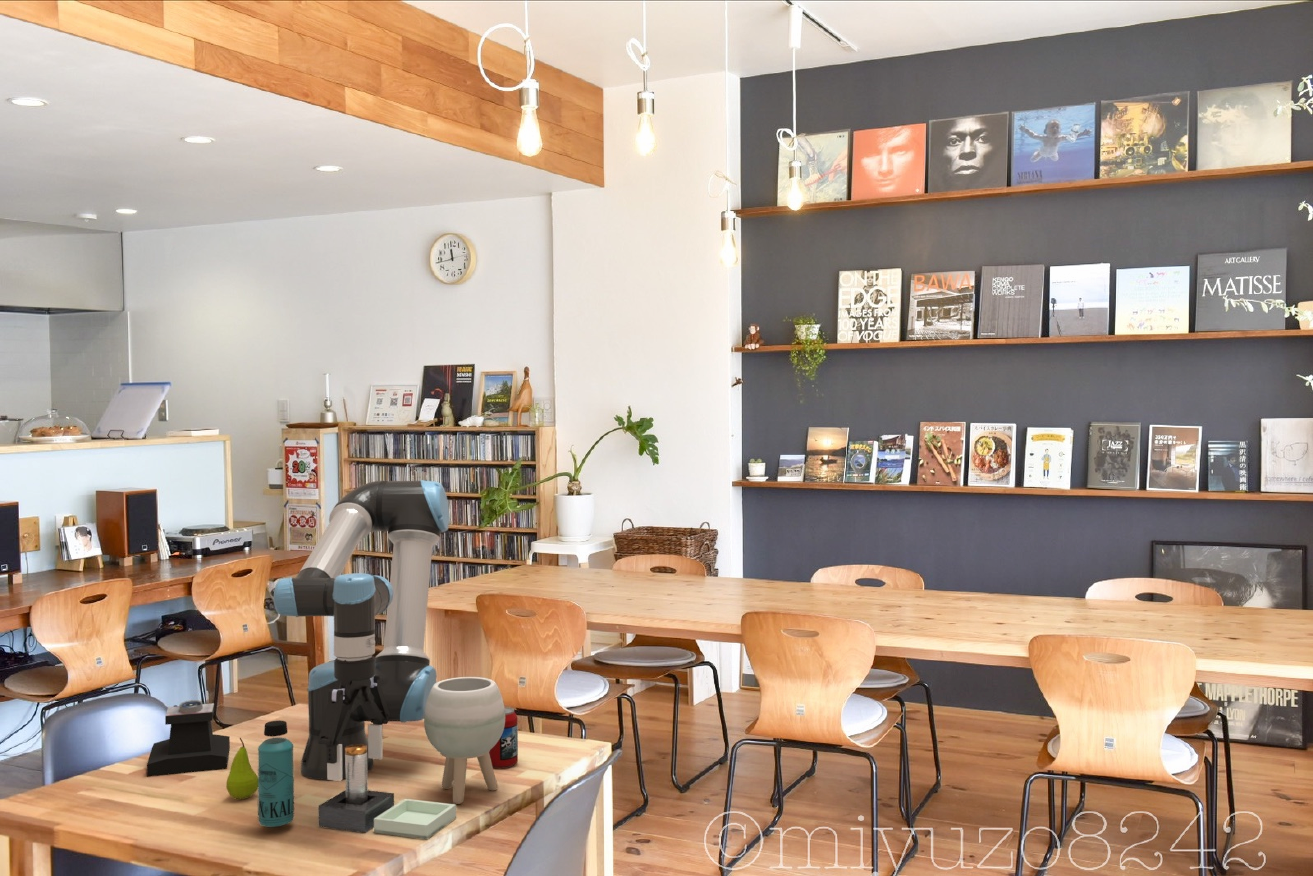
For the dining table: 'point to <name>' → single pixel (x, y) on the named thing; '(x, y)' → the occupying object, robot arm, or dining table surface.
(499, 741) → the beverage can
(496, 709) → the planter
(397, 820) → the tray
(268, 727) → the beverage bottle
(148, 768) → the black pedestal stand
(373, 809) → the collar
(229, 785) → the fruit
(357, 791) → the pin
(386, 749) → the dining table surface
